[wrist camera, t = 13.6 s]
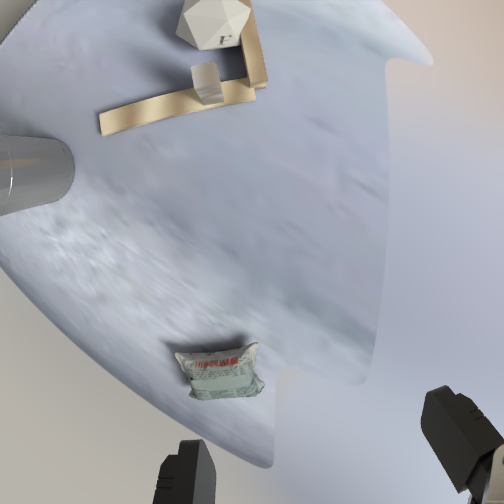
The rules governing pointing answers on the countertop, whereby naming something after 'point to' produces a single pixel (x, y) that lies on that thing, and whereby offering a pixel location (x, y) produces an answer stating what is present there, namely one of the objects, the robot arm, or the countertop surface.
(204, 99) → the l-shaped corner bracket
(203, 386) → the packaged food
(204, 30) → the die
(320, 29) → the countertop surface
